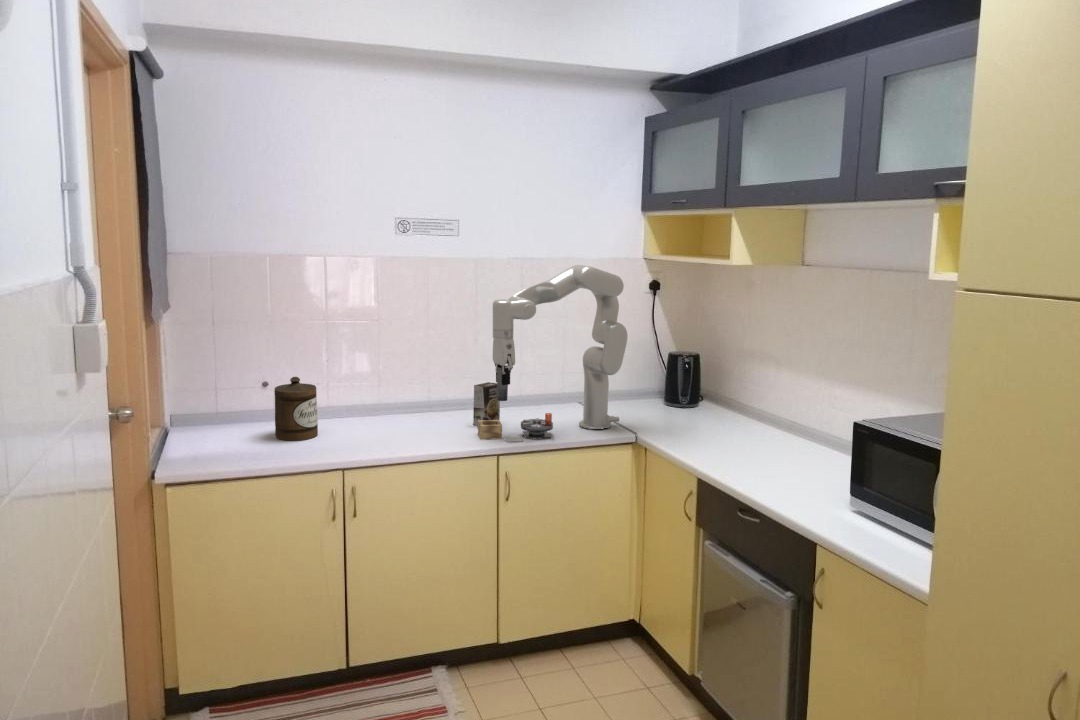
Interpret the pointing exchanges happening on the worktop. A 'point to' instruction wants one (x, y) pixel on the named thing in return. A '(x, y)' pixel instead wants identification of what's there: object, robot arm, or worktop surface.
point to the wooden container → (296, 411)
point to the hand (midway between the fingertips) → (503, 382)
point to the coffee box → (486, 402)
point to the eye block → (489, 429)
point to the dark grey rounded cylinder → (501, 386)
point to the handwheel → (538, 424)
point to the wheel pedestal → (536, 434)
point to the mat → (514, 439)
